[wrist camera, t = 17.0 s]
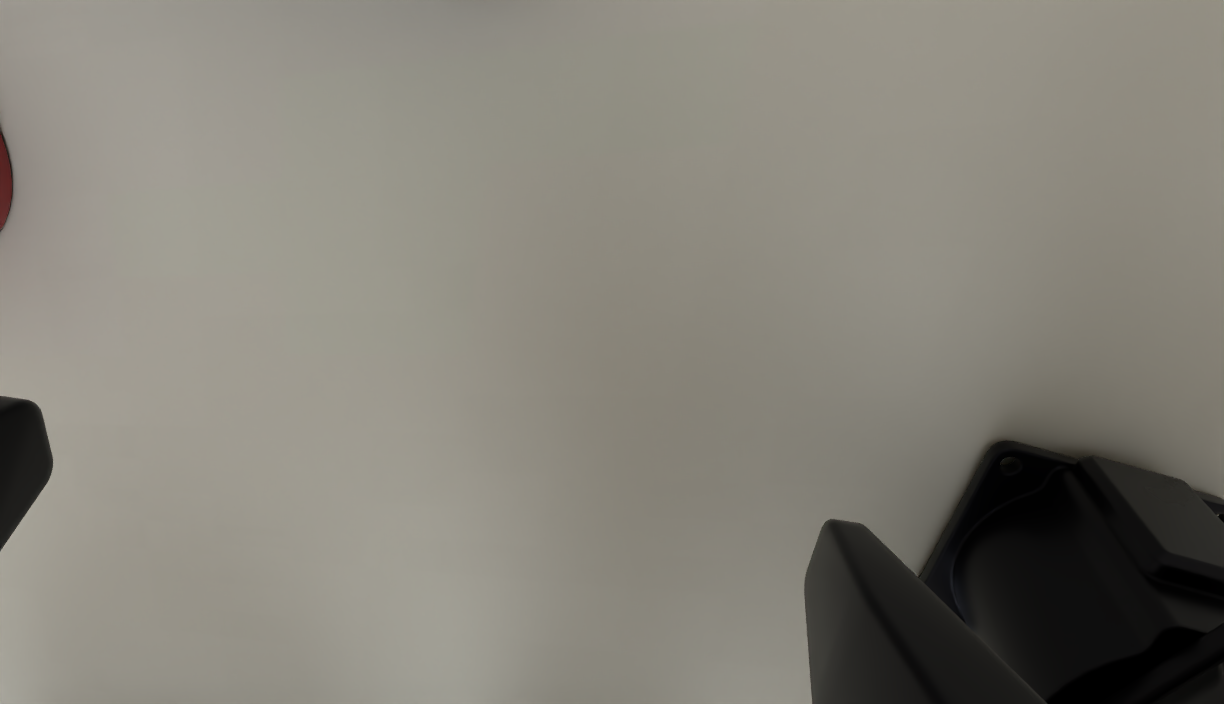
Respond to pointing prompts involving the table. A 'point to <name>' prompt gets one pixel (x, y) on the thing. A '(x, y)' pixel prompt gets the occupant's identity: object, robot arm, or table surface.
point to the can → (4, 183)
